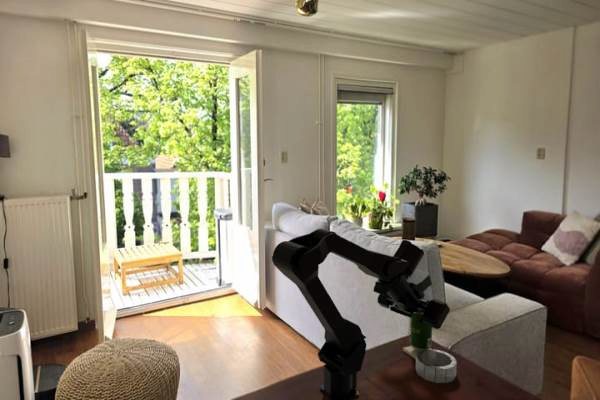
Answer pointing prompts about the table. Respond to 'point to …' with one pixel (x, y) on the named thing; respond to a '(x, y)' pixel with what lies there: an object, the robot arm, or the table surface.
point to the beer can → (420, 332)
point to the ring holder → (436, 373)
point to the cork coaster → (411, 351)
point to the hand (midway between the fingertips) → (425, 321)
